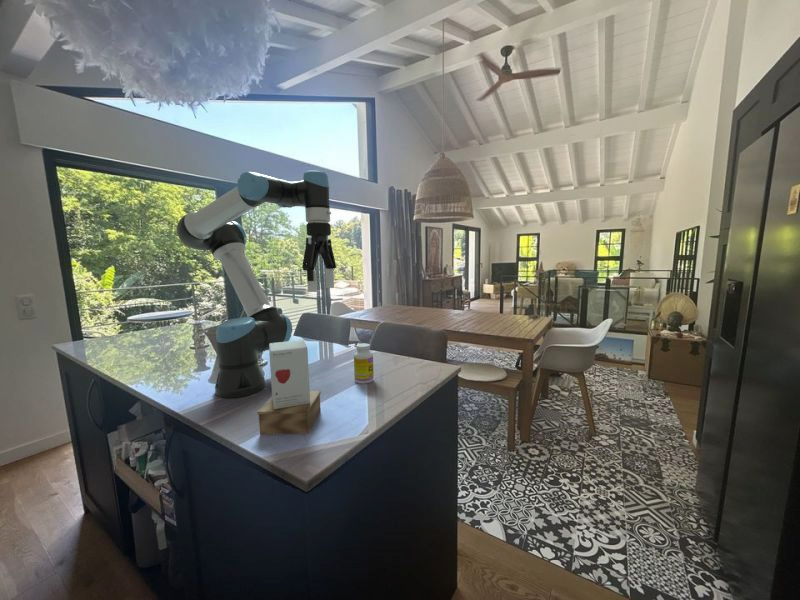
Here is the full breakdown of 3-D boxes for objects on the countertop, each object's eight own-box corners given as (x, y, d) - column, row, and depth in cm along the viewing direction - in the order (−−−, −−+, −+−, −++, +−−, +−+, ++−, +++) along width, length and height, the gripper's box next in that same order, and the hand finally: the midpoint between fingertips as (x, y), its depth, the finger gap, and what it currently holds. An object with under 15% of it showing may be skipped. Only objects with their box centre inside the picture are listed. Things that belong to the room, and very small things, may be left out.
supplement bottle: (370, 384, 115) (369, 347, 113) (352, 383, 116) (350, 347, 114) (376, 377, 121) (374, 342, 120) (358, 377, 122) (357, 342, 121)
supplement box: (273, 410, 83) (268, 351, 81) (272, 397, 91) (268, 342, 89) (311, 403, 86) (307, 346, 84) (306, 391, 95) (303, 339, 93)
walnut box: (259, 434, 83) (257, 411, 83) (277, 412, 96) (276, 391, 95) (309, 434, 83) (307, 410, 82) (321, 411, 95) (320, 391, 95)
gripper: (311, 218, 94) (316, 293, 97) (343, 225, 119) (346, 286, 121) (287, 219, 96) (291, 293, 98) (323, 226, 120) (326, 286, 123)
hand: (321, 289), depth 110 cm, fingers open, 13 cm apart
